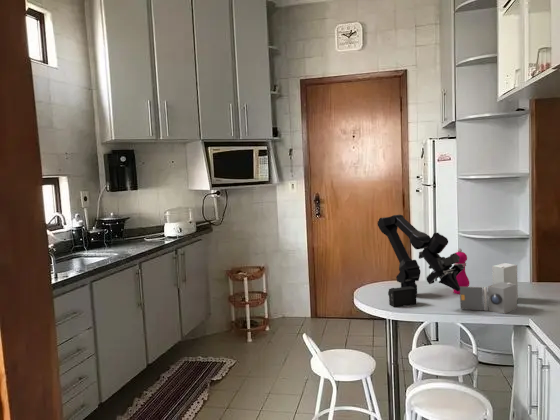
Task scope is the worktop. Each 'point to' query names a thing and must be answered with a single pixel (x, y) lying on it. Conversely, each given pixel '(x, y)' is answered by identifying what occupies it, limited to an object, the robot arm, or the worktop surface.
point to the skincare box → (505, 274)
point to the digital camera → (402, 296)
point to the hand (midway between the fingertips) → (459, 290)
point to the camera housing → (502, 297)
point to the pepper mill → (462, 276)
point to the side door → (473, 298)
